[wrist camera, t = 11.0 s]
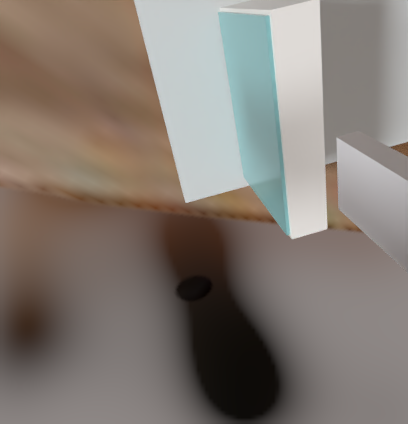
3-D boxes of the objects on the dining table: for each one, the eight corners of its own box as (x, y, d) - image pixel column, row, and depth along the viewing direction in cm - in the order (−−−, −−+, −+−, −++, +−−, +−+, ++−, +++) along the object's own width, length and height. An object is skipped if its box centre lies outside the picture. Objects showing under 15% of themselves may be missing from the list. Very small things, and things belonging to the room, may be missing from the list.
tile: (216, 8, 24) (266, 11, 16) (253, -1, 24) (319, -2, 16) (243, 178, 30) (288, 240, 22) (272, 170, 30) (327, 228, 22)
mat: (129, -16, 23) (130, -17, 22) (435, -85, 24) (442, -87, 24) (184, 199, 30) (185, 202, 30) (414, 136, 32) (419, 138, 31)
